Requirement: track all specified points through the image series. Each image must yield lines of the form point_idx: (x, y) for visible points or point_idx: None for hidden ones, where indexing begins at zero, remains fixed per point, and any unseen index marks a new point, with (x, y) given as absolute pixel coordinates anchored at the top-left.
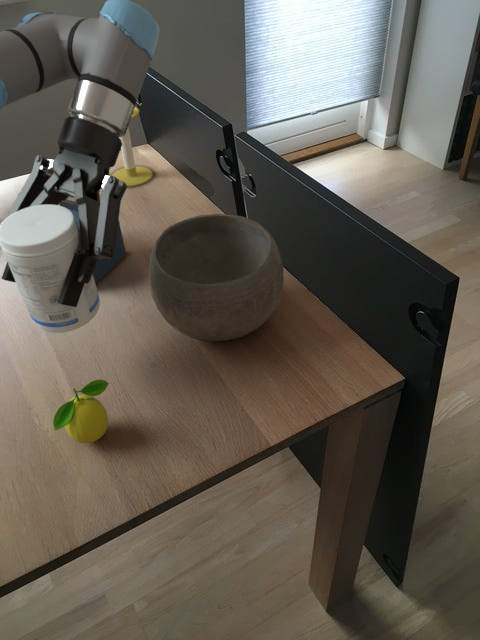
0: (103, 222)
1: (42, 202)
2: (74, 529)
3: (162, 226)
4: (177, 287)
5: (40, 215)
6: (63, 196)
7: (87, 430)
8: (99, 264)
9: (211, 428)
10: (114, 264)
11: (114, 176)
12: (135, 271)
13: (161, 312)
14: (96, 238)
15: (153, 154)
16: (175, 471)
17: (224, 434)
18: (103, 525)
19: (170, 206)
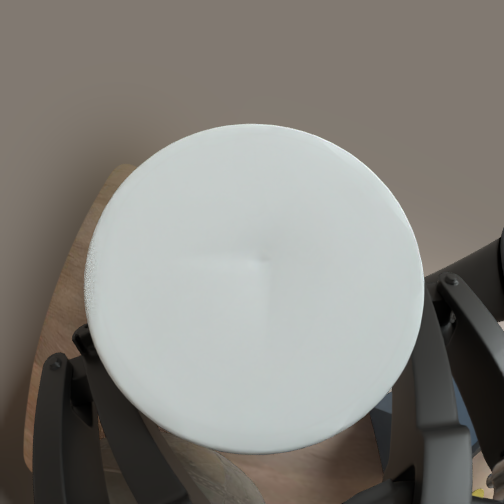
0: (39, 439)
1: (414, 386)
2: (102, 205)
3: None
4: (109, 459)
5: (312, 318)
6: (389, 478)
7: None
8: (384, 442)
9: (71, 349)
10: (380, 457)
11: (480, 492)
12: (348, 472)
13: (173, 436)
14: (60, 389)
15: None
16: (68, 292)
17: (60, 349)
18: (86, 221)
19: None
